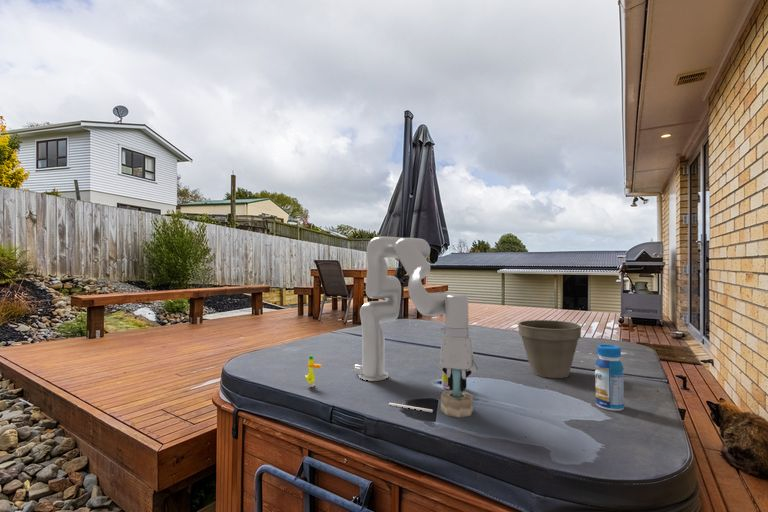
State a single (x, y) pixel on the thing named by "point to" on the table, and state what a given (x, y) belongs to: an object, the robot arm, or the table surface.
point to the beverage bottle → (609, 378)
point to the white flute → (411, 407)
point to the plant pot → (550, 346)
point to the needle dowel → (456, 383)
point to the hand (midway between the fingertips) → (457, 389)
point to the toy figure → (311, 369)
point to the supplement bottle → (445, 381)
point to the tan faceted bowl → (456, 404)
